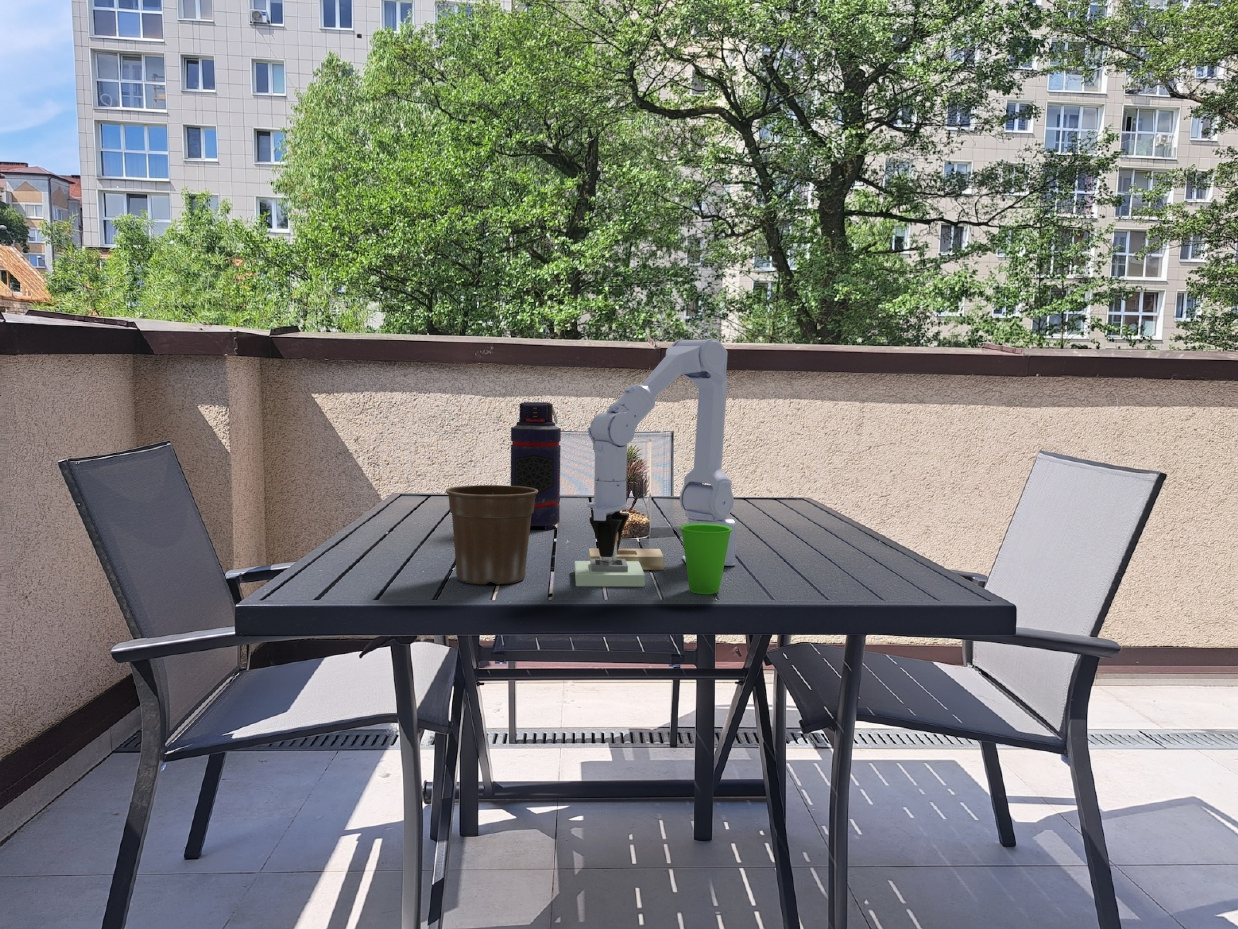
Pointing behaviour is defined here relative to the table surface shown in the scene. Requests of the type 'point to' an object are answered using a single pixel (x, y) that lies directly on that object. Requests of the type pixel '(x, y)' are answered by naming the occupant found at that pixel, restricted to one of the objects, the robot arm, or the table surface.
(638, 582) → the socket
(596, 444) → the robot arm
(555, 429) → the red-banded navy canister
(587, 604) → the table surface
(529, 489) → the plant pot
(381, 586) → the table surface
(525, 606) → the table surface
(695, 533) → the cup
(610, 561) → the pin
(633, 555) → the mount
